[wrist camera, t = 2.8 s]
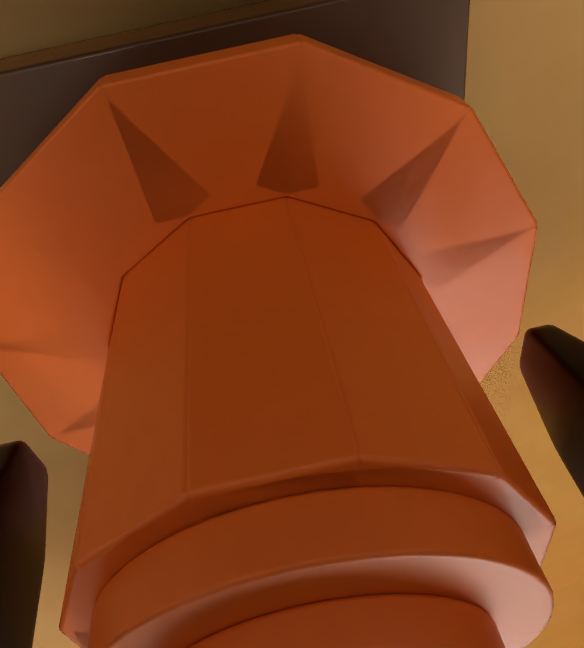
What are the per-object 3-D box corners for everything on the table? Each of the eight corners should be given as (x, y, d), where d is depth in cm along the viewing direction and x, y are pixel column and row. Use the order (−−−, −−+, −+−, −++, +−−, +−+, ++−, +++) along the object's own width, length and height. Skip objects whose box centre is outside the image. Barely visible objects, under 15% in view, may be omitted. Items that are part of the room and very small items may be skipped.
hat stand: (437, 328, 17) (593, 620, 10) (135, 394, 17) (98, 727, 10) (449, -40, 10) (899, 115, 4) (-47, 68, 10) (-473, 415, 4)
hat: (493, 424, 14) (657, 725, 9) (119, 506, 14) (78, 851, 9) (562, -27, 7) (1360, 192, 2) (-163, 133, 7) (-930, 695, 2)
